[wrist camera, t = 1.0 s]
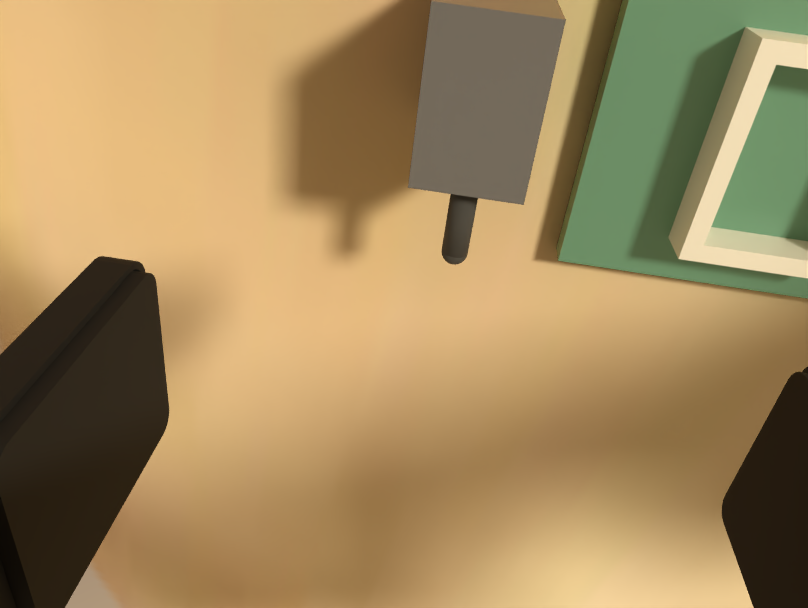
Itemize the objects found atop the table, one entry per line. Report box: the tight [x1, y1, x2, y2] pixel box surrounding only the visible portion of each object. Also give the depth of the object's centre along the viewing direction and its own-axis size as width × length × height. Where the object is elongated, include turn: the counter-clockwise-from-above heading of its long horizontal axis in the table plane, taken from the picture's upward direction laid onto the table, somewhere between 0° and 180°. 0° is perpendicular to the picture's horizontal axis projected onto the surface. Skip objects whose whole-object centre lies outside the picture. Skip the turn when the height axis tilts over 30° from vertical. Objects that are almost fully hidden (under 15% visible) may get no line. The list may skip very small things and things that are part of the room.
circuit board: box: [556, 0, 808, 298], centre depth 28 cm, size 16×13×3 cm
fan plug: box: [408, 0, 566, 264], centre depth 26 cm, size 4×10×8 cm, turn 174°
